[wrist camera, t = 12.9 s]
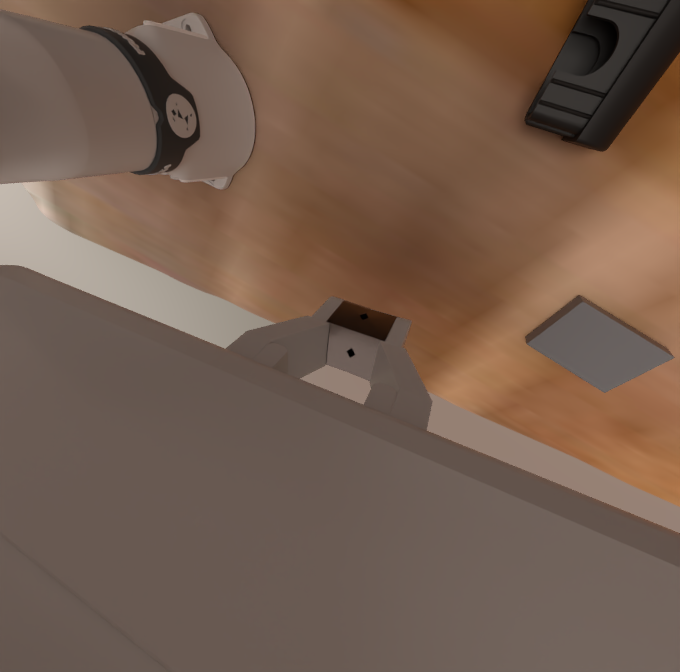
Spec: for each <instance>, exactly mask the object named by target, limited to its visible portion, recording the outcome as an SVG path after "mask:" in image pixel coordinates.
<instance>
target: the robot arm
mask: <svg viewBox="0 0 680 672" xmlns="http://www.w3.org/2000/svg"><path fill="white" fill-rule="evenodd" d="M190 28H191V31H190ZM254 139H255V117H254V110H253V105H252V101H251V97H250V94H249V91H248V88H247V86H246V83H245V81H244V79H243V77H242V75H241V73H240V71H239V70H238V68H237V66H236V65H235V64H234V62H233V61H232V60H231V58H230V57H229V56H228V55H227V54H226V53H225V52H224V51H223V50H222V49H221V47H220V46H219V45H218V43H217V42H216V40H215V38H214V36H213V33H212V31H211V29H210V27H209V25H208V24H207V22H206V20H205V19H204V17H203V16H202V15H200V14H197V13H188V14H186V15H183V16H180V17H177V18H175V19H172V20H169V21H166V22H164V23H157V22H153V21H148V20H144V21H143V25H140V26H137V27H134V28H133V29H131V30H129V31H127V32H126V33H121V32H120V31H118V30H115V29H111V28H107V27H95V26H83V27H81V28H79V29H78V28H74V27H71V26H67V25H63V24H59V23H55V22H51V21H47V20H43V19H39V18H35V17H30V16H26V15H22V14H18V13H14V12H10V11H6V10H2V9H0V184H7V183H19V182H20V183H21V182H36V181H55V180H65V179H75V178H83V177H92V176H100V175H108V174H117V173H125V172H131V173H134V174H138V175H157V174H164V175H170V178H172V179H175V180H180V181H181V182H196V181H202V182H205V183H207V184H209V185H211V186H213V187H215V188H217V189H227V188H228V186H229V185H230V182H231V180H232V177H233V175H234V174H235V173H236V172H237V171H238V170H240V169H241V168H242V167H243V166H244V165H245V163H246V162H247V160H248V159H249V157H250V155H251V152H252V149H253V145H254ZM411 323H412V321H411V320H407V319H404V318H400V317H396V316H393V315H389V314H386V313H382V312H379V311H375V310H372V309H370V308H367V307H364V306H361V305H358V304H355V303H352V302H349V301H346V300H343V299H340V298H337V297H333V296H332V297H330V298H329V299H328V300H327V301H326V302H325V303H324V304H323V305H322V306H321V307H320V308H319V309H318V310H317V311H316V312H315V313H314V315H313V316H312V317H310V316H304V317H300V318H296V319H292V320H288V321H285V322H281V323H277V324H273V325H269V326H265V327H261V328H257V329H253V330H249V331H246V332H245V333H244V334H243V335H241V336H240V337H239V338H238V339H237V340H236V341H234V342H233V343H232V344H231V345H229V346H228V347H227V348H226V349H224V348H222V347H219V346H217V345H214V344H212V343H210V342H207V341H204V340H202V339H200V338H197V337H195V336H192V335H190V334H187V333H185V332H182V331H180V330H178V329H175V328H173V327H170V326H168V325H165V324H163V323H160V322H158V321H156V320H153V319H150V318H148V317H146V316H143V315H141V314H138V313H136V312H133V311H131V310H128V309H126V308H123V307H121V306H118V305H116V304H114V303H111V302H109V301H106V300H104V299H101V298H99V297H96V296H94V295H91V294H89V293H86V292H84V291H82V290H79V289H77V288H74V287H72V286H69V285H67V284H64V283H62V282H60V281H57V280H55V279H52V278H50V277H47V276H45V275H43V274H40V273H38V272H35V271H33V270H31V269H28V268H25V267H22V266H16V265H0V672H680V533H678V532H675V531H673V530H671V529H668V528H665V527H663V526H661V525H658V524H655V523H653V522H651V521H648V520H645V519H643V518H641V517H638V516H636V515H634V514H631V513H629V512H626V511H623V510H621V509H619V508H616V507H614V506H611V505H609V504H606V503H604V502H601V501H599V500H596V499H594V498H592V497H589V496H587V495H584V494H582V493H579V492H577V491H574V490H572V489H569V488H567V487H565V486H562V485H560V484H557V483H555V482H552V481H550V480H547V479H545V478H542V477H540V476H537V475H535V474H532V473H530V472H528V471H525V470H522V469H520V468H518V467H515V466H513V465H510V464H508V463H505V462H503V461H500V460H498V459H496V458H493V457H491V456H488V455H486V454H483V453H481V452H478V451H476V450H473V449H471V448H468V447H466V446H463V445H461V444H458V443H456V442H453V441H451V440H448V439H446V438H444V437H441V436H439V435H436V434H434V433H431V432H429V431H427V426H428V421H429V416H430V411H431V406H432V400H431V398H430V396H429V394H428V392H427V390H426V388H425V386H424V384H423V382H422V380H421V378H420V376H419V374H418V372H417V370H416V368H415V366H414V364H413V362H412V360H411V359H410V357H409V355H408V353H407V351H406V349H404V345H405V342H406V338H407V335H408V332H409V329H410V326H411ZM325 364H326V365H329V366H332V367H335V368H338V369H341V370H343V371H347V372H349V373H351V374H354V375H356V376H359V377H361V378H364V379H366V380H368V381H370V386H371V390H370V393H369V395H368V397H367V399H366V401H365V403H364V405H363V404H360V403H357V402H355V401H353V400H350V399H348V398H345V397H343V396H340V395H338V394H335V393H333V392H331V391H328V390H326V389H323V388H321V387H318V386H316V385H313V384H311V383H308V382H306V381H303V380H301V379H300V378H302V377H304V376H306V375H308V374H309V373H312V372H313V371H316V370H318V369H320V368H321V367H323V366H325Z"/></svg>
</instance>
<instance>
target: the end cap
mask: <svg viewBox="0 0 680 672" xmlns="http://www.w3.org/2000/svg"><path fill="white" fill-rule="evenodd" d="M679 52H680V0H588V1H587V3H586V5H585V7H584V9H583V11H582V13H581V14H580V16H579V18H578V20H577V22H576V24H575V25H574V27H573V29H572V31H571V33H570V35H569V36H568V38H567V40H566V42H565V44H564V46H563V47H562V49H561V51H560V53H559V55H558V57H557V59H556V60H555V62H554V64H553V66H552V68H551V70H550V71H549V73H548V75H547V77H546V79H545V81H544V82H543V84H542V86H541V88H540V90H539V92H538V93H537V95H536V97H535V99H534V101H533V103H532V105H531V106H530V108H529V110H528V112H527V114H526V117H525V122H526V124H527V125H530V126H533V127H536V128H540V129H543V130H546V131H549V132H552V133H555V134H558V135H561V136H563V138H562V140H563V141H566V142H570V143H573V144H576V145H579V146H583V147H586V148H589V149H593V150H597V151H605V150H607V149H608V148H609V146H610V145H611V144H612V142H613V141H614V140H615V138H616V137H617V136H618V134H619V133H620V131H621V130H622V129H623V127H624V126H625V125H626V123H627V122H628V121H629V119H630V118H631V117H632V115H633V114H634V113H635V111H636V110H637V109H638V107H639V106H640V105H641V103H642V102H643V101H644V99H645V98H646V97H647V95H648V94H649V93H650V91H651V90H652V89H653V87H654V86H655V85H656V83H657V82H658V81H659V79H660V78H661V76H662V75H663V74H664V72H665V71H666V70H667V68H668V67H669V66H670V64H671V63H672V62H673V60H674V59H675V58H676V56H677V55H678V54H679Z"/></svg>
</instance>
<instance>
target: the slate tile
mask: <svg viewBox="0 0 680 672" xmlns="http://www.w3.org/2000/svg"><path fill="white" fill-rule="evenodd" d="M525 338H526V343H527V345H529V346H530V347H532V348H534V349H535V350H537V351H538V352H540V353H542V354H543V355H545V356H546V357H548V358H550V359H551V360H553V361H554V362H556V363H558V364H559V365H561V366H562V367H564V368H566V369H567V370H569V371H570V372H572V373H574V374H575V375H577V376H578V377H580V378H582V379H583V380H585V381H586V382H588V383H590V384H591V385H593V386H594V387H596V388H598V389H599V390H601V391H602V392H604V393H605V392H607V391H609V390H611V389H613V388H615V387H617V386H619V385H621V384H623V383H625V382H627V381H629V380H631V379H633V378H635V377H637V376H639V375H641V374H643V373H645V372H647V371H649V370H651V369H653V368H655V367H657V366H659V365H661V364H663V363H665V362H667V361H669V360H671V359H673V358H675V357H674V356H673V355H672V354H671V352H670V351H669V350H668V349H667V348H666V347H664V346H662V345H661V344H659V343H658V342H656V341H654V340H653V339H651V338H649V337H648V336H646V335H644V334H643V333H641V332H639V331H638V330H636V329H635V328H633V327H631V326H630V325H628V324H626V323H625V322H623V321H621V320H620V319H618V318H617V317H615V316H613V315H612V314H610V313H608V312H607V311H605V310H603V309H602V308H600V307H598V306H597V305H595V304H594V303H592V302H590V301H589V300H587V299H585V298H584V297H582V296H580V295H578V296H577V297H576V298H575V299H573V300H572V301H571V302H569V303H568V304H567V305H566V306H564V307H563V308H562V309H560V310H559V311H558V312H557V313H555V314H554V315H553V316H551V317H550V318H549V319H548V320H546V321H545V322H544V323H542V324H541V325H540V326H539V327H537V328H536V329H535V330H533V331H532V332H531V333H530V334H528V335H527V336H526V337H525Z"/></svg>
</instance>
